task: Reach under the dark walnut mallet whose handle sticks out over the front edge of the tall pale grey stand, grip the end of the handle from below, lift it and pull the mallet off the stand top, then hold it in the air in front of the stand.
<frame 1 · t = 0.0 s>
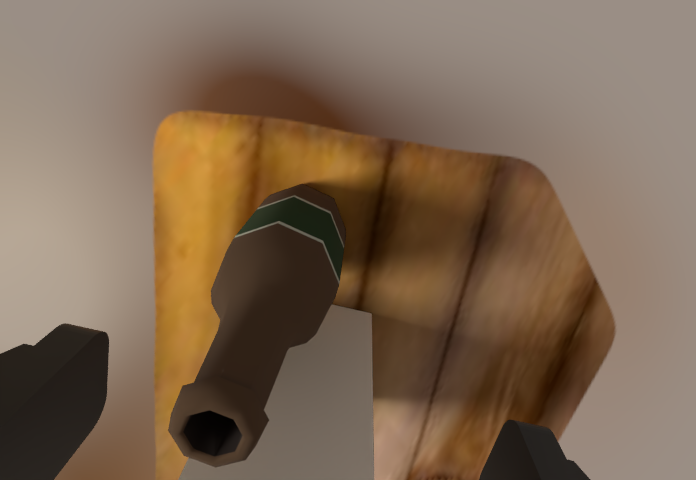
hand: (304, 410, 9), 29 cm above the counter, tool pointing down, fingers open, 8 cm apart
stand: (309, 345, 43), on the counter
beer bottle: (302, 224, 39), on the counter
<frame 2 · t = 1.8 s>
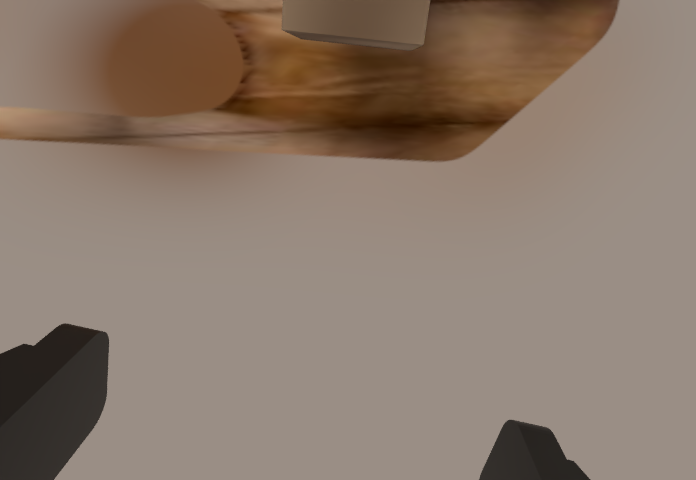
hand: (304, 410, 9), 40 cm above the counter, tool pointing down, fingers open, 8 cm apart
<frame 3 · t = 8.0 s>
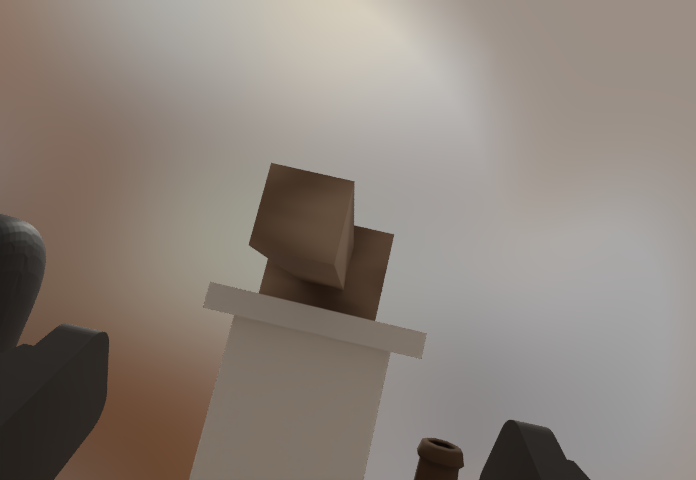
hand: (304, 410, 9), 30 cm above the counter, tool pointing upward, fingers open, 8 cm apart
mallet: (320, 308, 33), point 32 cm above the counter, touching stand
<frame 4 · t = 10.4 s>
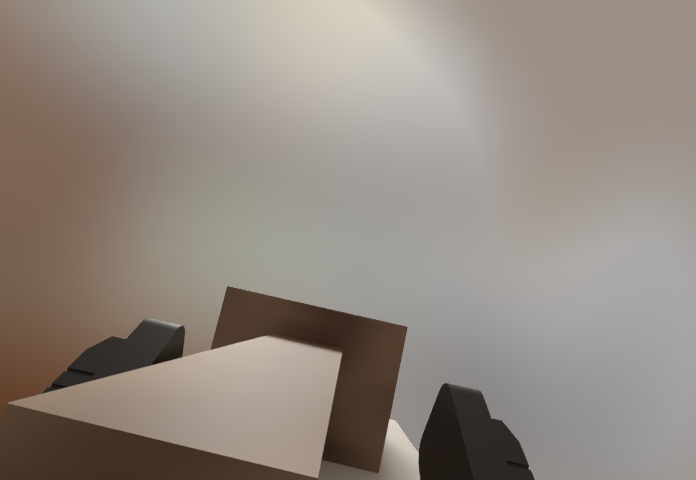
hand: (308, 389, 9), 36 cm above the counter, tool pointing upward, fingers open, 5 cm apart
mallet: (295, 426, 22), point 32 cm above the counter, touching gripper, stand
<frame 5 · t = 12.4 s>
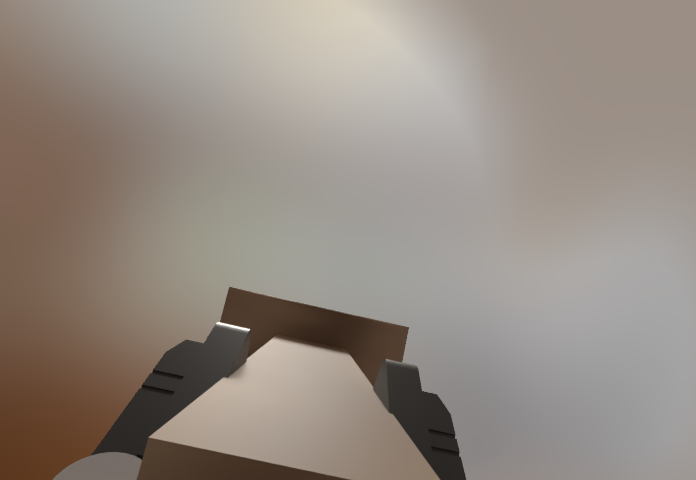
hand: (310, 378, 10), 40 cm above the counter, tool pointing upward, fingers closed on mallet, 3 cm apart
mallet: (291, 424, 22), point 36 cm above the counter, touching gripper
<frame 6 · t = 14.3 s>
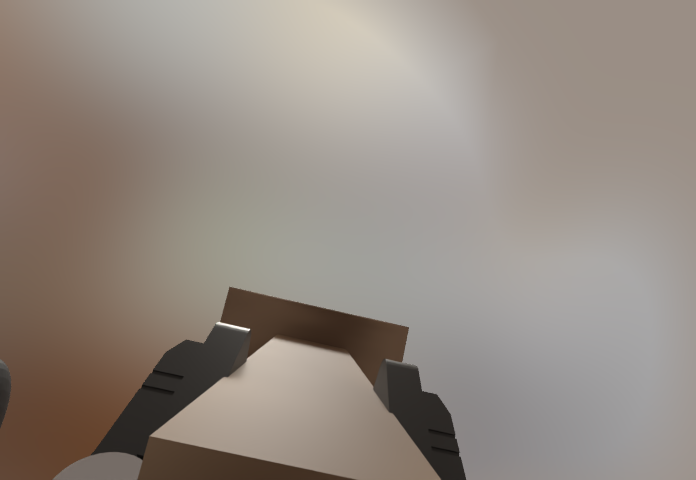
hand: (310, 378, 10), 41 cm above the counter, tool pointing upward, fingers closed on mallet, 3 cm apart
mallet: (291, 424, 22), point 36 cm above the counter, touching gripper
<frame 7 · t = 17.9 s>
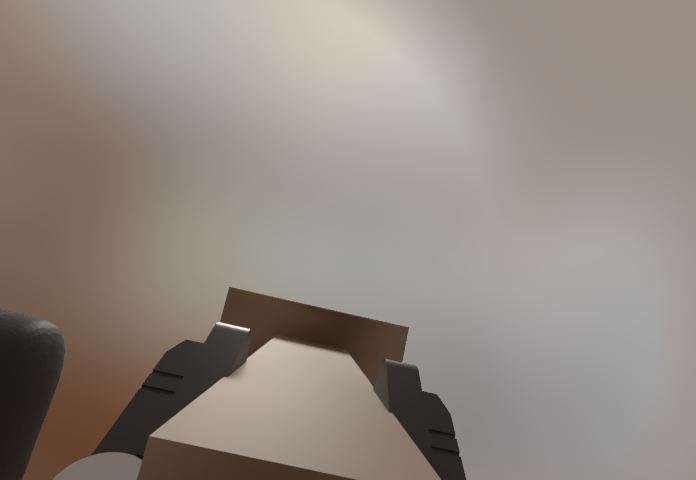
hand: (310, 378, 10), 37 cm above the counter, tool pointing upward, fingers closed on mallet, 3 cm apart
mallet: (291, 425, 22), point 33 cm above the counter, touching gripper
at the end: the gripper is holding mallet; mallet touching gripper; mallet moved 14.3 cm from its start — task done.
